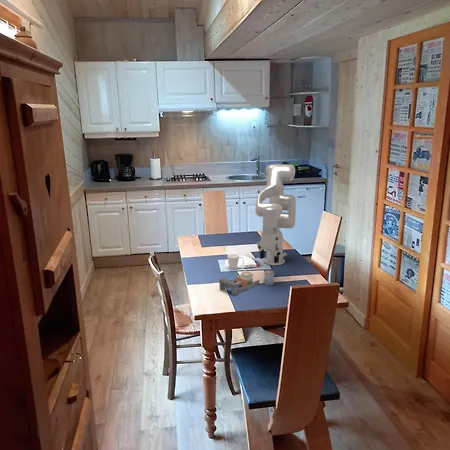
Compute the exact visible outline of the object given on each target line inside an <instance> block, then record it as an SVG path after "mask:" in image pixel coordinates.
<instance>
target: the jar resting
mask: <svg viewBox="0 0 450 450" xmlns="http://www.w3.org/2000/svg"><path fill="white" fill-rule="evenodd" d="M240 277H241V278H244V279H247V284H250V283H252V282H254V279H253V277H254V275H253V273H252V272H251V271H243V272H241V273H240Z"/></svg>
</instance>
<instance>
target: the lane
mask: <svg viewBox="0 0 450 450" xmlns="http://www.w3.org/2000/svg"><path fill="white" fill-rule="evenodd" d="M259 284H260V279H257V280H255V281H254V280H253V282H252V283H250V284H247V285H245V286H241V287H239V284H238V283H237V282H236V279H234V280H230V279H227V278H225V277H222V278H220V279H219V290H220V291H224V290H226V289H227V288H229V286H231V287H230V288H231V295H232V296H236V295H238V294H239V293H242V292H244V291H246V290H248V289H251V288H253V287H255V286H257V285H259Z"/></svg>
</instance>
